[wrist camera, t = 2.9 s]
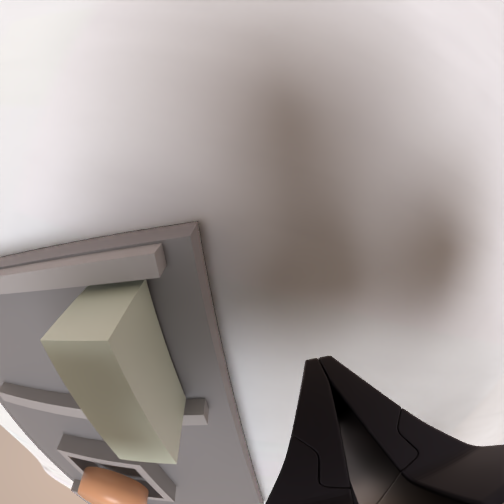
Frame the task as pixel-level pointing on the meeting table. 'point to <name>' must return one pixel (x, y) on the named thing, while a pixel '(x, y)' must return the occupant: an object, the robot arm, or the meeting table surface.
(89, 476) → the terracotta button
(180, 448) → the control board
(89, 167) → the meeting table surface
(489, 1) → the meeting table surface
